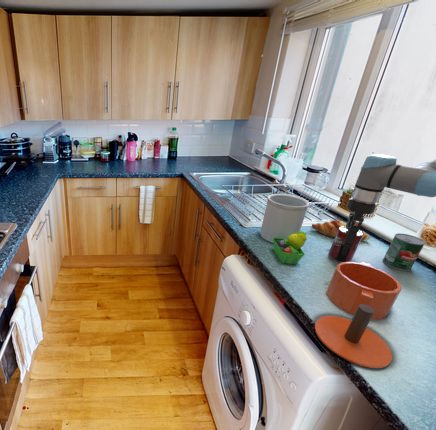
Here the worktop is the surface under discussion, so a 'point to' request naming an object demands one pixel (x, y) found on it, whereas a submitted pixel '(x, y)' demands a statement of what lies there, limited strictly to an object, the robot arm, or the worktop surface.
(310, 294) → the worktop surface
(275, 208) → the utensil holder
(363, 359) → the lid
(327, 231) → the croissant
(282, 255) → the fruit basket
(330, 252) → the soda can
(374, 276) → the pot
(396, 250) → the canned tomato
